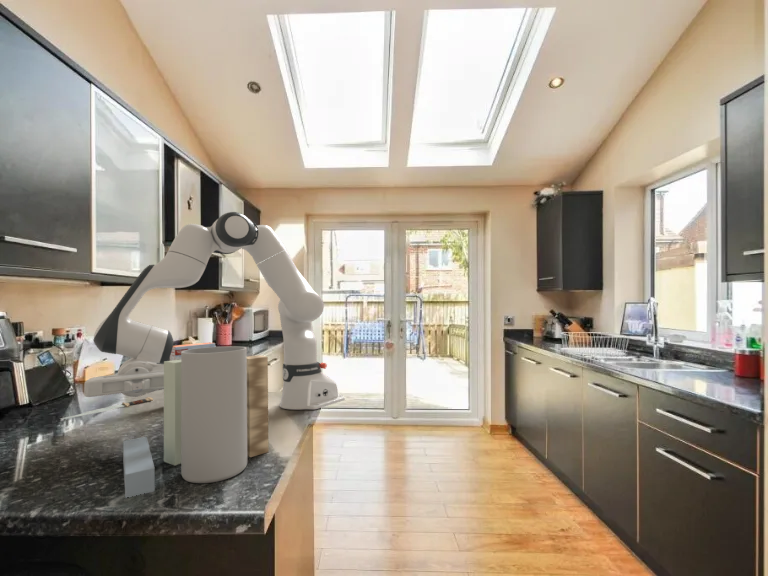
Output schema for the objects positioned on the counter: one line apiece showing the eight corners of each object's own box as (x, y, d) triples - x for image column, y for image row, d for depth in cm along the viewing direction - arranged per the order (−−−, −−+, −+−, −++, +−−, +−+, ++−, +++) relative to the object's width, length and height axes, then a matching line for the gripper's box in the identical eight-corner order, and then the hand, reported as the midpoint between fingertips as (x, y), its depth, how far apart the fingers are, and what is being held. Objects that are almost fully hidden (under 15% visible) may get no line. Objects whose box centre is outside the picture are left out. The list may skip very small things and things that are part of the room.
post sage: (183, 454, 90) (183, 358, 90) (194, 458, 87) (194, 360, 88) (163, 461, 86) (163, 361, 87) (175, 465, 83) (175, 362, 84)
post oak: (260, 447, 93) (259, 355, 94) (268, 451, 90) (267, 356, 91) (241, 452, 90) (241, 357, 91) (249, 457, 87) (249, 358, 88)
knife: (63, 419, 119) (58, 415, 122) (63, 425, 120) (58, 420, 122) (156, 399, 141) (149, 395, 144) (155, 403, 141) (149, 399, 144)
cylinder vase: (178, 490, 72) (178, 355, 73) (183, 465, 83) (183, 348, 84) (249, 477, 77) (248, 350, 78) (245, 455, 88) (244, 345, 89)
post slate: (146, 436, 90) (154, 468, 72) (146, 456, 90) (154, 492, 72) (123, 440, 88) (125, 474, 70) (123, 460, 87) (125, 500, 69)
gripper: (86, 370, 94) (79, 379, 83) (180, 362, 105) (186, 368, 94) (86, 396, 94) (79, 409, 82) (180, 385, 105) (186, 394, 94)
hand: (137, 387), depth 88 cm, fingers closed
